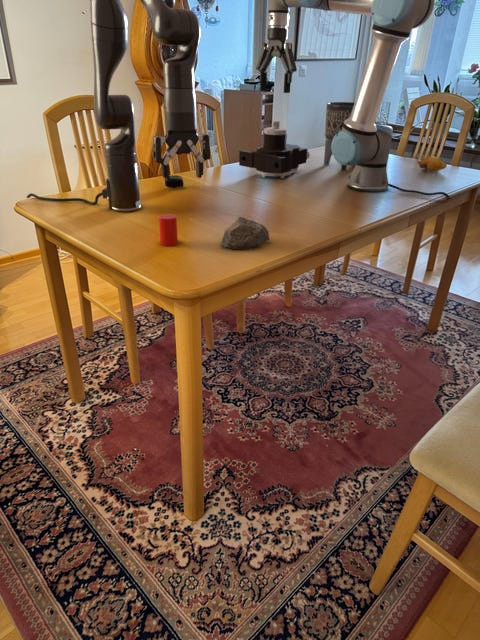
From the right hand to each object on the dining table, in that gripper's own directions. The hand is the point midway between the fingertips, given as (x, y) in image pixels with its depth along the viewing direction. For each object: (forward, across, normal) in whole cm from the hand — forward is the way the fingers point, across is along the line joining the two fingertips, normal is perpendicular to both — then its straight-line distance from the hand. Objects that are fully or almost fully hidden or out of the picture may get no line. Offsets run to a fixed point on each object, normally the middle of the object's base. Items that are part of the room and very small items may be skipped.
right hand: (274, 91), depth 178 cm
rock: (+32, +58, -62) cm, 91 cm away
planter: (+32, +7, +38) cm, 50 cm away
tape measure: (+32, -4, -46) cm, 56 cm away
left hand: (+16, +45, -73) cm, 87 cm away
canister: (+32, +45, -78) cm, 95 cm away
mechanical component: (+32, +1, +5) cm, 32 cm away
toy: (+32, +35, +68) cm, 83 cm away
